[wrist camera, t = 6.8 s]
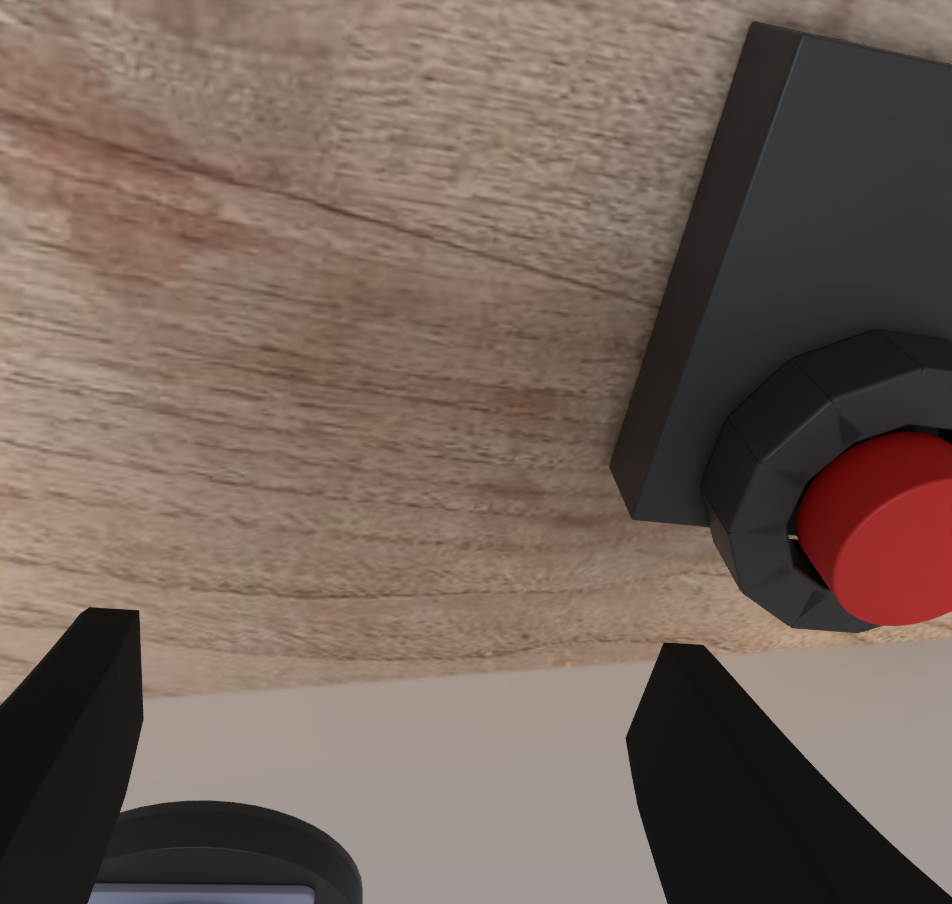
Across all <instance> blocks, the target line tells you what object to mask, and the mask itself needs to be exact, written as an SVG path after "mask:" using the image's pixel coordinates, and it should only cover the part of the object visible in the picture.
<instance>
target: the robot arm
mask: <svg viewBox="0 0 952 904" xmlns="http://www.w3.org/2000/svg"><path fill="white" fill-rule="evenodd" d="M142 723H143V695H142V670H141V644H140V619H139V610H125V609H108V608H92V607H89V608H88V609H86V610H85V611H83V612H82V613H80V615H79V616H78V617H77V618H76V620H75V621H74V622H73V623H72V624H71V626H70V627H69V628H68V629H67V631H66V632H65V633H64V634H63V635H62V637H61V638H60V639H59V640H58V641H57V643H56V644H55V645H54V646H53V647H52V649H51V650H50V651H49V652H48V653H47V654H46V656H45V657H44V658H43V659H42V660H41V661H40V663H39V664H38V665H37V666H36V667H35V668H34V669H33V670H32V672H31V673H30V674H29V675H28V676H27V677H26V678H25V679H24V681H23V682H22V683H21V684H20V685H19V686H18V687H17V688H16V690H15V691H14V692H13V693H12V694H11V695H10V696H9V697H8V698H7V699H6V700H5V701H4V702H3V703H2V704H1V706H0V904H314V897H315V893H314V890H313V889H312V888H311V887H309V886H306V885H260V884H171V883H95V881H96V878H97V875H98V872H99V870H100V867H101V864H102V861H103V858H104V856H105V853H106V850H107V847H108V844H109V841H110V839H111V836H112V833H113V830H114V827H115V824H116V821H117V819H118V816H119V813H120V810H121V807H122V804H123V801H124V798H125V795H126V791H127V787H128V783H129V779H130V775H131V770H132V766H133V762H134V758H135V754H136V749H137V745H138V740H139V736H140V731H141V727H142ZM626 743H627V749H628V755H629V761H630V767H631V773H632V779H633V784H634V789H635V794H636V799H637V805H638V809H639V812H640V816H641V819H642V823H643V826H644V829H645V832H646V836H647V839H648V842H649V845H650V849H651V852H652V855H653V859H654V862H655V865H656V868H657V872H658V875H659V878H660V881H661V884H662V887H663V890H664V893H665V897H666V900H667V903H668V904H952V897H951V896H950V895H949V894H947V893H946V892H945V891H944V890H943V889H942V888H941V887H939V886H938V885H937V884H936V883H935V882H934V881H932V880H931V879H930V878H929V877H928V876H927V875H926V874H925V873H923V872H922V871H921V870H920V869H919V868H918V867H917V866H915V865H914V864H913V863H912V862H911V861H910V860H909V859H907V858H906V857H905V856H904V855H903V854H902V853H901V852H900V851H899V850H898V849H897V848H895V847H894V846H893V845H892V844H891V843H890V842H889V841H888V840H887V839H886V838H885V837H883V835H881V834H880V833H879V832H878V831H877V830H876V829H875V828H874V827H873V826H872V825H871V824H870V823H869V822H868V821H867V820H866V819H865V818H864V817H863V816H862V815H861V814H860V813H859V812H858V811H857V810H856V809H855V808H854V807H853V806H852V805H851V804H850V803H849V802H848V801H847V800H846V799H845V798H844V797H843V796H842V795H841V794H840V793H839V792H838V791H837V790H836V789H835V788H834V787H833V786H832V785H831V784H830V783H829V782H828V781H827V780H826V779H825V778H824V777H823V776H822V775H821V774H820V773H819V771H818V770H817V769H816V768H815V767H814V766H813V765H812V764H811V763H810V762H809V761H808V760H807V759H806V758H805V757H804V756H803V754H802V753H801V752H800V751H799V750H798V749H797V748H796V747H795V746H794V745H793V744H792V743H791V742H790V740H789V739H788V738H787V737H786V736H785V735H784V734H783V733H782V732H781V731H780V729H779V728H778V727H777V726H776V725H775V724H774V723H773V722H772V721H771V720H770V718H769V717H768V716H767V715H766V714H765V713H764V712H763V710H761V709H760V707H759V706H758V705H757V704H756V703H755V702H754V700H753V699H752V698H751V697H750V696H749V695H748V694H747V693H746V691H745V690H744V689H743V688H742V687H741V686H740V685H739V684H738V682H737V681H736V680H735V679H734V678H733V677H732V676H731V675H730V673H729V672H728V671H727V670H726V669H725V668H724V667H723V666H722V665H721V663H720V662H719V661H718V660H717V659H716V658H715V657H714V656H713V655H712V654H711V653H710V652H709V650H708V649H707V648H706V647H705V646H704V645H695V644H679V643H663V646H662V648H661V651H660V653H659V656H658V658H657V661H656V663H655V666H654V668H653V671H652V673H651V676H650V678H649V681H648V683H647V686H646V688H645V691H644V693H643V696H642V698H641V701H640V704H639V706H638V708H637V711H636V713H635V716H634V718H633V721H632V723H631V726H630V728H629V731H628V733H627V736H626Z"/></svg>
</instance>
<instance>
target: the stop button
mask: <svg viewBox="0 0 952 904" xmlns="http://www.w3.org/2000/svg"><path fill="white" fill-rule="evenodd" d="M796 529H797V536H798V540H799V543H800V545H801V547H802V550H803V551H804V552H805V554H806V555H807V557H808V558H809V560H810V561H811V563H812V564H813V565H814V567H815V568H816V570H817V571H818V573H819V574H820V576H821V577H822V579H823V580H824V581H825V583H826V584H827V586H828V587H829V589H830V590H831V592H832V593H833V595H834V596H835V597H836V599H837V600H838V602H839V603H840V604H841V606H842V607H843V608H844V609H845V610H846V611H847V612H848V613H850V614H852V615H853V616H855V617H856V618H858V619H861V620H863V621H865V622H868V623H872V624H876V625H884V626H902V625H910V624H916V623H920V622H924V621H928V620H931V619H934V618H937V617H940V616H942V615H944V614H946V613H949V612H951V611H952V444H950V443H949V442H948V441H946V440H944V439H942V438H940V437H937V436H935V435H932V434H927V433H922V432H912V431H905V432H894V433H889V434H884V435H880V436H877V437H873V438H871V439H868V440H866V441H863V442H861V443H859V444H857V445H855V446H853V447H851V448H850V449H848V450H846V451H845V452H843V453H842V454H840V455H839V456H838V457H836V458H835V459H834V460H833V461H832V462H830V463H829V464H828V465H827V466H826V467H824V468H823V469H822V470H821V472H820V473H819V474H818V475H817V476H816V477H815V478H814V480H813V481H812V483H811V484H810V485H809V487H808V488H807V490H806V492H805V494H804V496H803V498H802V500H801V503H800V505H799V509H798V513H797V521H796Z"/></svg>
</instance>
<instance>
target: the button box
mask: <svg viewBox="0 0 952 904" xmlns="http://www.w3.org/2000/svg"><path fill="white" fill-rule="evenodd" d="M905 431H912V432H922V433H927V434H932V435H935V436H937V437H940V438H942V439H944V440H946V441H948V442H949V443H950V444H952V64H947V63H943V62H938V61H934V60H929V59H924V58H920V57H915V56H911V55H906V54H902V53H897V52H893V51H888V50H884V49H879V48H874V47H870V46H865V45H861V44H856V43H852V42H847V41H843V40H838V39H834V38H829V37H824V36H820V35H815V34H811V33H806V32H802V31H797V30H793V29H788V28H783V27H779V26H774V25H770V24H765V23H761V22H753V23H752V25H751V28H750V31H749V34H748V37H747V40H746V43H745V46H744V49H743V53H742V56H741V59H740V62H739V65H738V68H737V71H736V74H735V77H734V81H733V84H732V87H731V90H730V93H729V96H728V99H727V102H726V105H725V109H724V112H723V115H722V118H721V121H720V124H719V127H718V130H717V134H716V137H715V140H714V143H713V146H712V149H711V152H710V155H709V158H708V162H707V165H706V168H705V171H704V174H703V177H702V180H701V183H700V187H699V190H698V193H697V196H696V199H695V202H694V205H693V208H692V211H691V215H690V218H689V221H688V224H687V227H686V230H685V233H684V236H683V240H682V243H681V246H680V249H679V252H678V255H677V258H676V261H675V264H674V268H673V271H672V274H671V277H670V280H669V283H668V286H667V289H666V293H665V296H664V299H663V302H662V305H661V308H660V311H659V314H658V317H657V321H656V324H655V327H654V330H653V333H652V336H651V339H650V342H649V345H648V349H647V352H646V355H645V358H644V361H643V364H642V367H641V370H640V374H639V377H638V380H637V383H636V386H635V389H634V392H633V395H632V398H631V402H630V405H629V408H628V411H627V414H626V417H625V420H624V423H623V427H622V430H621V433H620V436H619V439H618V442H617V445H616V448H615V451H614V455H613V458H612V461H611V464H610V470H611V472H612V475H613V477H614V479H615V482H616V484H617V486H618V488H619V491H620V493H621V495H622V498H623V500H624V502H625V505H626V507H627V509H628V511H629V514H630V516H631V518H632V519H633V520H641V521H651V522H662V523H672V524H682V525H693V526H703V527H710V530H711V534H712V538H713V542H714V544H715V546H716V548H717V549H718V551H719V553H720V555H721V557H722V558H723V560H724V562H725V564H726V566H727V567H728V569H729V571H730V573H731V575H732V577H733V578H734V580H735V582H736V584H737V586H738V587H739V589H740V591H742V593H743V594H744V595H746V596H747V597H749V598H750V599H751V600H753V601H754V602H756V603H757V604H758V605H760V606H761V607H763V608H764V609H765V610H767V611H768V612H770V613H771V614H772V615H774V616H775V617H777V618H778V619H779V620H781V621H782V622H784V623H785V624H786V625H788V626H790V627H791V628H796V629H810V630H823V631H837V632H850V633H860V632H865V631H868V630H871V629H874V628H877V627H880V626H884V625H876V624H872V623H868V622H865V621H863V620H861V619H858V618H856V617H855V616H853V615H852V614H850V613H848V612H847V611H846V610H845V609H844V608H843V607H842V606H841V604H840V603H839V602H838V600H837V599H836V597H835V596H834V595H833V593H832V592H831V590H830V589H829V587H828V586H827V584H826V583H825V581H824V580H823V579H822V577H821V576H820V574H819V573H818V571H817V570H816V568H815V567H814V565H813V564H812V563H811V561H810V560H809V558H808V557H807V555H806V554H805V552H804V551H803V550H802V547H801V545H800V543H799V540H795V539H789V537H788V535H795V536H797V529H796V521H797V513H798V509H799V505H800V503H801V500H802V498H803V496H804V494H805V492H806V490H807V488H808V487H809V485H810V484H811V483H812V481H813V480H814V478H815V477H816V476H817V475H818V474H819V473H820V472H821V470H822V469H823V468H824V467H826V466H827V465H828V464H829V463H830V462H832V461H833V460H834V459H835V458H836V457H838V456H839V455H840V454H842V453H843V452H845V451H846V450H848V449H850V448H851V447H853V446H855V445H857V444H859V443H861V442H863V441H866V440H868V439H871V438H873V437H877V436H880V435H884V434H889V433H894V432H905Z"/></svg>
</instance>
